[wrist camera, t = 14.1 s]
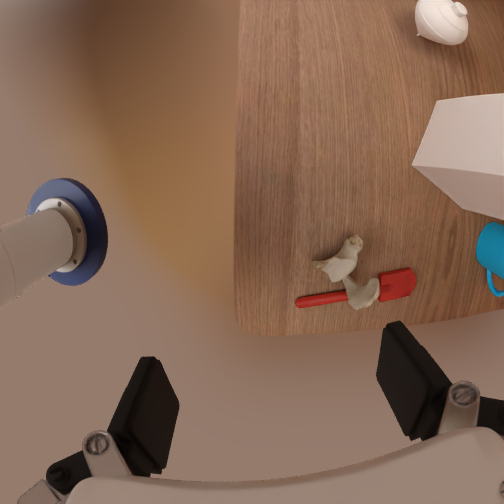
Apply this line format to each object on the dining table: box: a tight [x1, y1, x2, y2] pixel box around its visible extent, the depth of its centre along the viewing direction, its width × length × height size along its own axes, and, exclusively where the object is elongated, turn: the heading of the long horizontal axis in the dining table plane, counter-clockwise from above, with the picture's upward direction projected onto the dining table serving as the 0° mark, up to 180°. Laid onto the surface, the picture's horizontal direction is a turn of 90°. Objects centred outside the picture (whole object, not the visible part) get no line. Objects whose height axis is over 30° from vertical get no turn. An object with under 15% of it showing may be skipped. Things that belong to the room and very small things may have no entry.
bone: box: [312, 234, 380, 310], centre depth 31 cm, size 9×6×10 cm
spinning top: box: [415, 0, 468, 45], centre depth 18 cm, size 8×8×12 cm
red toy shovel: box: [295, 268, 416, 308], centre depth 36 cm, size 18×4×1 cm, turn 99°
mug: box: [476, 222, 504, 297], centre depth 31 cm, size 12×8×8 cm
